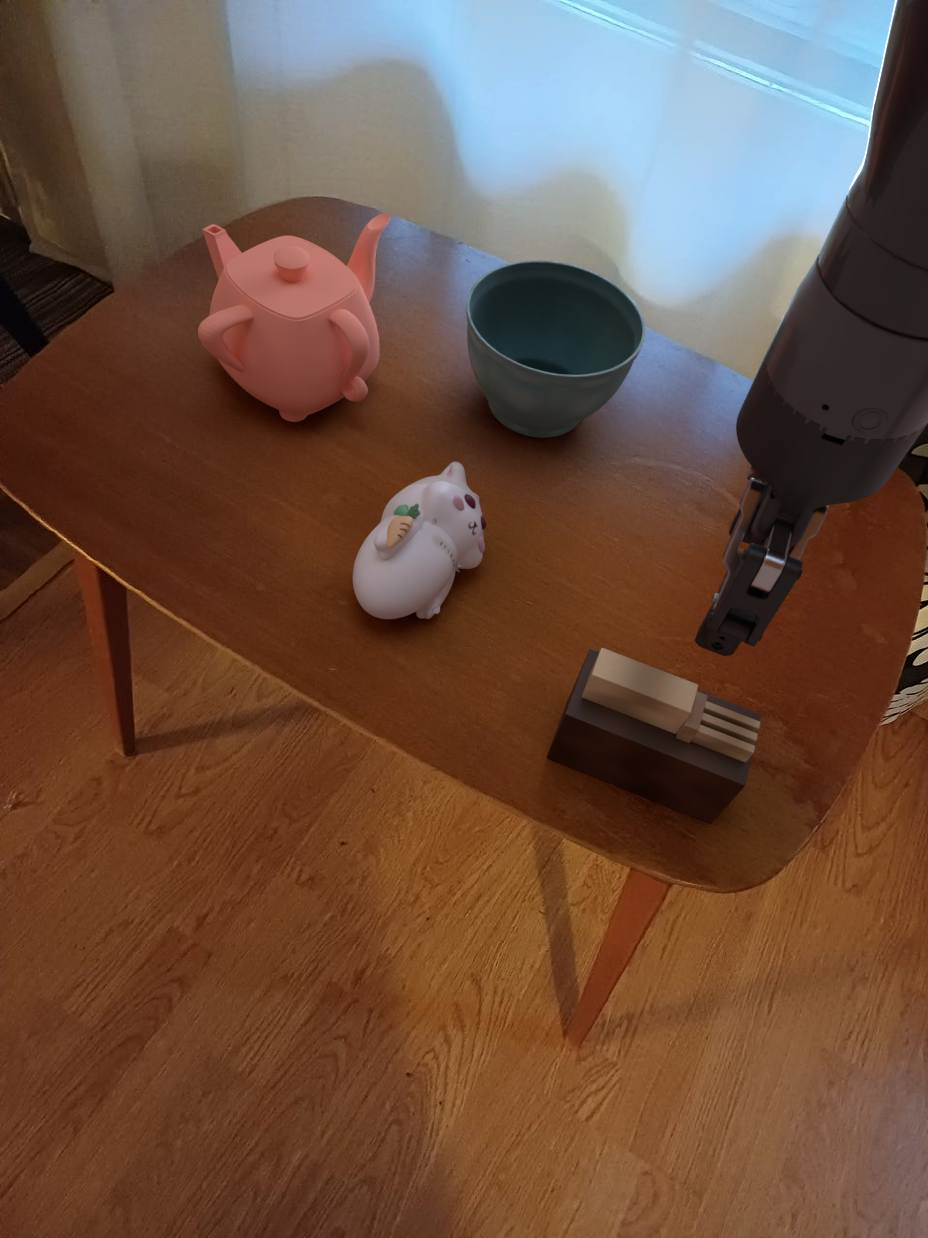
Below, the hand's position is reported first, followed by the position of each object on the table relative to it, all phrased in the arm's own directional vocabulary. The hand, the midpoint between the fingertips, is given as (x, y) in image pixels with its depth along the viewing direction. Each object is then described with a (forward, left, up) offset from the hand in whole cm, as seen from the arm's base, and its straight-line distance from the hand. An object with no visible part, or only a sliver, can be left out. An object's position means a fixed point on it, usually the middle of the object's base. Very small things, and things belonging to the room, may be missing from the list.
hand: (729, 590), depth 54 cm
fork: (0, +1, -14) cm, 14 cm away
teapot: (+18, -46, -21) cm, 54 cm away
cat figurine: (+12, -20, -21) cm, 31 cm away
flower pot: (-4, -38, -21) cm, 43 cm away
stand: (0, +1, -21) cm, 21 cm away
